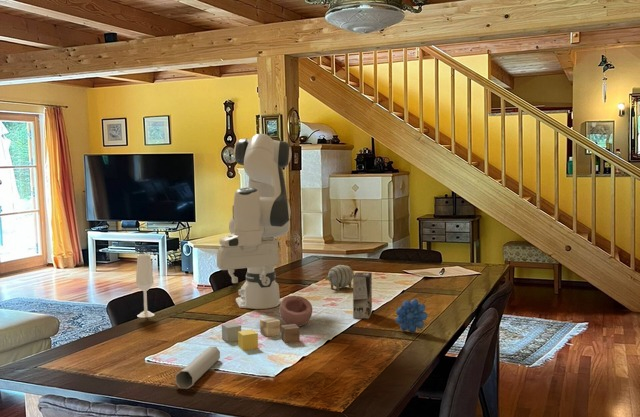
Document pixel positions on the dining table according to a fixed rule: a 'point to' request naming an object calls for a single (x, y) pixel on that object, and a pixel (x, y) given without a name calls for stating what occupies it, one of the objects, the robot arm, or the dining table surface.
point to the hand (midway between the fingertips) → (248, 281)
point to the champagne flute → (144, 279)
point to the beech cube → (269, 326)
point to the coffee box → (362, 295)
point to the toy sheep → (340, 276)
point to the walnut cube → (290, 333)
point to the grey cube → (230, 332)
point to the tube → (197, 368)
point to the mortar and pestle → (295, 310)
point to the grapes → (411, 315)
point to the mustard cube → (247, 339)
